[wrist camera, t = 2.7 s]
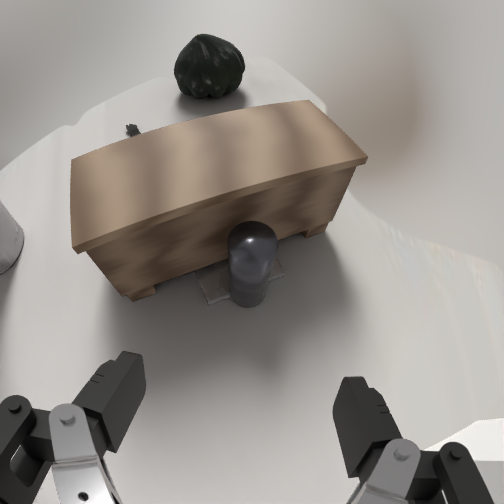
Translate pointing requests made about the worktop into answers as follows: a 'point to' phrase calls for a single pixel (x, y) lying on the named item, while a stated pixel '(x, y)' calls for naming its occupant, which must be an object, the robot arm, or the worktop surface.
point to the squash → (209, 67)
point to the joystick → (243, 266)
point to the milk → (484, 453)
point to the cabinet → (206, 189)
